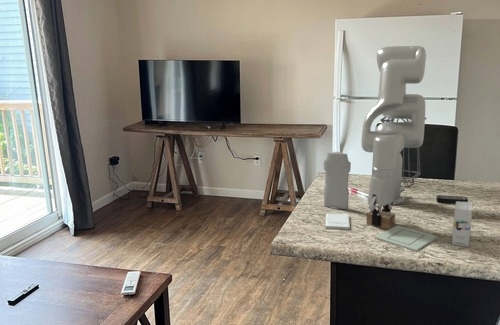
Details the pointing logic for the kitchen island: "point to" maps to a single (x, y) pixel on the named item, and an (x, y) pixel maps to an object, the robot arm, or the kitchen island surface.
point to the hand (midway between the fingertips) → (381, 222)
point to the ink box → (462, 223)
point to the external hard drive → (337, 221)
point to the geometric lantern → (408, 157)
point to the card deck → (383, 219)
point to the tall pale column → (336, 180)
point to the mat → (406, 238)
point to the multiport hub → (450, 199)
